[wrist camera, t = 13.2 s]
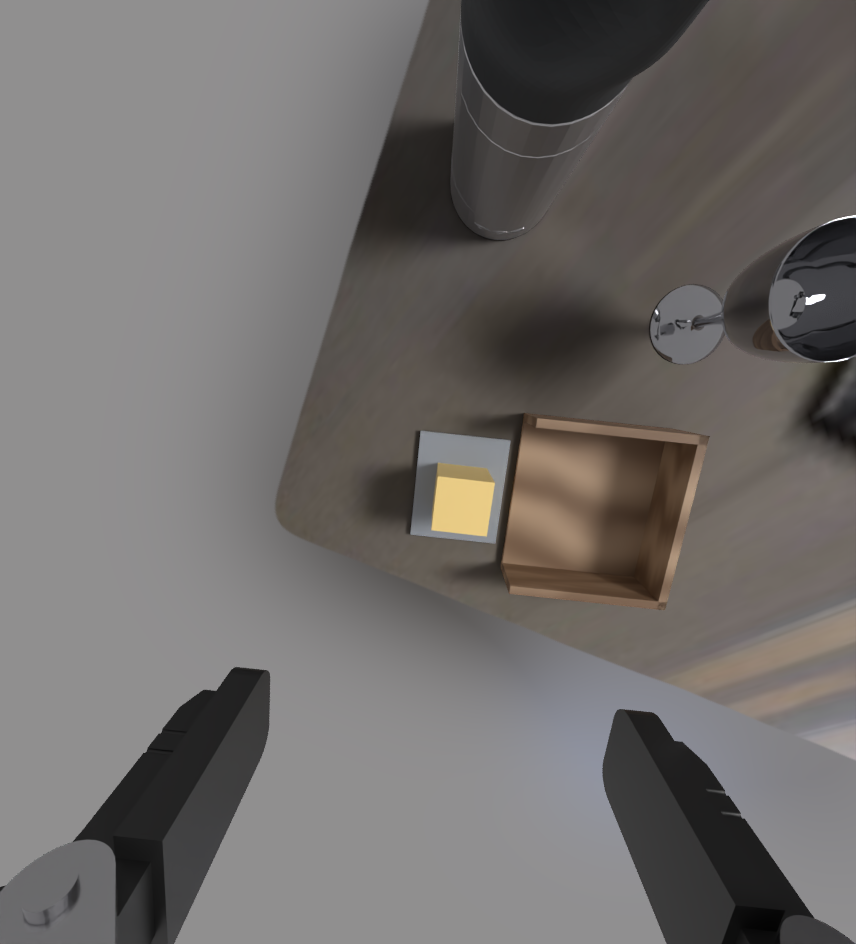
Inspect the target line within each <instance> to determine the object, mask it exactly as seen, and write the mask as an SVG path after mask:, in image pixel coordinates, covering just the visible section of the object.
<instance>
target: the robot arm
mask: <svg viewBox="0 0 856 944" xmlns="http://www.w3.org/2000/svg"><path fill="white" fill-rule="evenodd" d="M708 1H709V0H461V16H460V32H459V49H458V69H457V85H456V101H455V117H454V133H453V149H452V162H451V178H450V187H451V196H452V200H453V204H454V207H455V209H456V211H457V213H458V215H459V217H460V218H461V220H462V221H463V222H464V223H465V225H466V226H467V227H468V228H470V229H471V230H472V231H473V232H475V233H476V234H478V235H480V236H482V237H485V238H489V239H493V240H508V239H512V238H516V237H518V236H520V235H522V234H524V233H527V232H528V231H529V230H530V229H532V228H533V227H534V226H536V225H537V223H538V222H539V221H540V220H541V219H542V217H543V216H544V215H545V213H546V212H547V210H548V209H549V207H550V205H551V204H552V202H553V201H554V199H555V198H556V196H557V195H558V193H559V192H560V190H561V189H562V187H563V186H564V184H565V183H566V181H567V179H568V178H569V176H570V175H571V173H572V172H573V170H574V169H575V167H576V165H577V164H578V162H579V161H580V159H581V158H582V156H583V155H584V153H585V152H586V150H587V148H588V147H589V145H590V144H591V142H592V141H593V139H594V138H595V136H596V134H597V133H598V131H599V130H600V128H601V127H602V125H603V124H604V122H605V121H606V119H607V117H608V116H609V114H610V113H611V111H612V110H613V108H614V106H615V105H616V103H617V101H618V100H619V98H620V97H621V95H622V94H623V92H624V91H625V89H626V87H627V86H628V84H629V83H630V81H631V80H632V78H633V77H634V76H636V75H638V74H639V73H641V72H643V71H644V70H646V69H647V68H649V67H650V66H651V65H653V64H654V63H655V62H656V61H658V60H659V59H660V58H661V57H662V56H663V55H664V54H666V53H667V52H668V51H669V49H670V48H671V47H672V46H673V45H674V44H675V43H676V42H677V41H678V39H679V38H680V37H681V36H682V35H683V33H684V32H685V31H686V30H687V28H688V27H689V26H690V24H691V23H692V22H693V20H694V19H695V18H696V17H697V15H698V14H699V13H700V11H701V10H702V9H703V7H704V6H705V5H706V4H707V2H708ZM269 703H270V673H269V672H268V671H267V670H259V669H249V668H240V667H235V668H233V669H232V670H231V671H230V673H229V674H228V675H227V677H226V678H225V679H224V681H223V682H222V684H221V686H220V687H219V688H218V689H217V691H211V690H203V691H201V692H200V693H199V694H197V695H196V696H194V697H193V698H192V699H191V700H189V701H188V702H186V703H185V704H183V705H182V706H181V707H180V708H179V709H178V710H177V711H176V713H175V714H174V715H173V717H172V718H171V719H170V720H169V722H168V723H167V724H166V725H165V727H164V728H163V730H162V733H161V734H158V735H157V737H156V738H155V739H154V741H153V742H152V743H151V744H150V746H149V747H148V749H147V752H146V753H143V754H142V756H141V757H140V758H139V759H138V761H137V762H136V763H135V765H134V766H133V767H132V768H131V770H130V771H129V772H128V773H127V775H126V776H125V777H124V778H123V780H122V781H121V783H120V784H119V785H118V786H117V787H116V789H115V790H114V791H113V792H112V794H111V795H110V796H109V798H108V799H107V800H106V801H105V803H104V804H103V805H102V806H101V808H100V809H99V810H98V811H97V813H96V814H95V815H94V817H93V818H92V819H91V820H90V822H89V823H88V824H87V825H86V827H85V828H84V829H83V830H82V832H81V833H80V834H79V835H78V836H77V837H76V839H75V840H74V841H73V842H71V843H68V844H65V845H63V846H60V847H58V848H55V849H53V850H52V851H50V852H48V853H46V854H44V855H43V856H41V857H39V858H38V859H36V860H35V861H33V862H32V863H31V864H29V865H28V866H26V867H25V868H24V869H23V870H22V871H21V872H20V873H18V874H17V875H16V876H15V877H14V878H13V879H12V880H11V881H10V882H9V883H8V884H7V885H6V886H2V887H0V944H174V942H175V940H176V938H177V936H178V934H179V932H180V930H181V927H182V925H183V923H184V921H185V919H186V917H187V915H188V913H189V910H190V908H191V906H192V904H193V902H194V899H195V897H196V895H197V893H198V891H199V889H200V887H201V885H202V883H203V880H204V878H205V876H206V874H207V872H208V870H209V867H210V866H211V863H212V861H213V859H214V857H215V855H216V853H217V851H218V848H219V846H220V844H221V842H222V840H223V838H224V835H225V834H226V831H227V829H228V827H229V825H230V823H231V821H232V818H233V817H234V814H235V812H236V810H237V808H238V806H239V804H240V801H241V799H242V797H243V795H244V793H245V791H246V789H247V787H248V784H249V782H250V780H251V778H252V776H253V774H254V771H255V770H256V767H257V765H258V763H259V761H260V758H261V756H262V754H263V751H264V748H265V744H266V740H267V736H268V730H269V705H270V704H269ZM603 781H604V787H605V791H606V795H607V798H608V800H609V803H610V805H611V808H612V810H613V813H614V815H615V817H616V820H617V822H618V825H619V827H620V830H621V832H622V835H623V837H624V840H625V842H626V844H627V847H628V850H629V852H630V854H631V857H632V859H633V862H634V864H635V867H636V869H637V872H638V874H639V877H640V879H641V882H642V884H643V886H644V889H645V891H646V894H647V896H648V899H649V901H650V904H651V906H652V909H653V911H654V914H655V916H656V918H657V921H658V923H659V926H660V928H661V931H662V933H663V936H664V938H665V941H666V943H667V944H855V943H854V942H853V941H852V940H850V939H849V938H848V937H846V936H845V935H844V934H842V933H841V932H839V931H838V930H836V929H834V928H833V927H831V926H829V925H828V924H826V923H824V922H821V921H819V920H817V919H815V918H814V917H813V915H812V914H811V913H810V912H809V910H808V909H807V907H806V906H805V904H804V903H803V902H802V900H801V899H800V898H799V896H798V894H797V893H796V892H795V890H794V889H793V887H792V886H791V884H790V883H789V881H788V880H787V879H786V877H785V876H784V874H783V873H782V872H781V870H780V869H779V867H778V866H777V864H776V863H775V861H774V860H773V859H772V857H771V856H770V855H769V853H768V852H767V850H766V849H765V847H764V846H763V844H762V843H761V842H760V840H759V839H758V837H757V836H756V834H755V833H754V832H753V830H752V829H751V827H750V826H749V824H748V823H747V821H746V820H745V819H742V818H741V815H740V814H741V813H740V811H739V810H738V809H737V807H736V806H735V804H734V803H733V801H732V800H731V798H730V797H729V796H726V794H725V790H724V789H723V787H722V786H721V784H720V783H719V781H718V780H717V778H716V777H715V776H714V774H713V773H712V771H711V770H710V768H709V767H708V766H707V764H705V763H704V762H703V761H702V760H701V759H700V758H699V757H698V756H697V755H696V754H695V753H694V752H693V751H692V750H690V749H689V748H688V747H687V746H686V745H685V744H684V743H683V742H678V741H674V740H673V738H672V737H671V735H670V733H669V732H668V731H667V729H666V727H665V726H664V724H663V723H662V721H661V720H660V718H659V717H658V716H657V715H656V714H654V713H652V712H643V711H633V710H623V709H619V710H617V712H616V713H615V716H614V719H613V724H612V728H611V732H610V736H609V740H608V744H607V748H606V752H605V757H604V761H603Z"/></svg>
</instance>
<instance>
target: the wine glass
mask: <svg viewBox="0 0 856 944" xmlns="http://www.w3.org/2000/svg"><path fill="white" fill-rule="evenodd" d="M724 335H726V337H727V338H728V340H729V341H730V342H731V344H733V345H734V346H735V347H736V348H737V349H739V350H741V351H743V352H744V353H746V354H748V355H751V356H754V357H758V358H761V359H765V360H772V361H779V362H786V363H819V362H834V361H840V360H845V359H849V358H852V357H854V356H856V216H850V217H845V218H841V219H836V220H833V221H830V222H828V223H825V224H823V225H820V226H818V227H815V228H813V229H810V230H808V231H805V232H803V233H801V234H799V235H797V236H794V237H792V238H790V239H788V240H786V241H784V242H782V243H781V244H779V245H777V246H776V247H774V248H773V249H771V250H769V251H768V252H766V253H764V254H763V255H761V256H760V257H759V258H757V259H756V260H755V261H753V262H752V263H751V264H749V265H748V266H747V267H746V268H745V269H744V270H743V271H742V272H741V273H740V274H739V275H738V276H737V277H736V278H735V279H734V281H733V282H732V283H731V285H730V286H729V288H728V290H727V292H726V294H725V296H724V299H722V298H721V297H720V295H719V294H718V293H716V292H715V291H714V290H712V289H711V288H709V287H706V286H703V285H698V284H691V285H685V286H681V287H679V288H677V289H675V290H673V291H671V292H670V293H668V294H667V295H666V296H665V297H664V298H663V299H662V300H661V301H660V303H659V304H658V305H657V307H656V309H655V311H654V313H653V315H652V319H651V323H650V337H651V341H652V344H653V346H654V348H655V350H656V351H657V352H658V353H659V355H661V356H662V357H663V358H664V359H666V360H668V361H669V362H672V363H675V364H691V363H695V362H698V361H700V360H702V359H704V358H706V357H707V356H709V355H710V354H711V353H712V352H714V350H715V349H716V348H717V347H718V346H719V344H720V343H721V341H722V340H723V337H724Z"/></svg>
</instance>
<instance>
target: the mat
mask: <svg viewBox="0 0 856 944" xmlns="http://www.w3.org/2000/svg"><path fill="white" fill-rule="evenodd" d="M510 441H511V440H505V439H496V438H487V437H477V436H468V435H458V434H449V433H439V432H430V431H421V433H420V443H419V453H418V463H417V473H416V483H415V493H414V503H413V513H412V523H411V533H410V535H419V536H429V537H438V538H448V539H457V540H466V541H476V542H485V543H495V542H496V535H497V529H498V522H499V515H500V508H501V502H502V495H503V488H504V482H505V475H506V468H507V461H508V455H509V448H510ZM438 463H445V464H454V465H462V466H471V467H480V468H487V469H488V471H489V473H490V475H491V477H492V478H493V480H494V482H495V486H494V493H493V499H492V506H491V512H490V519H489V525H488V532H487V537H486V536H477V535H468V534H459V533H451V532H442V531H433V530H431V525H432V507H433V499H434V490H435V482H436V474H437V465H438Z"/></svg>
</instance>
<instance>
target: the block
mask: <svg viewBox="0 0 856 944" xmlns="http://www.w3.org/2000/svg"><path fill="white" fill-rule="evenodd" d="M494 486H495V482H494V480H493V478H492V477H491V475H490V473H489V471H488V469H487V468H480V467H471V466H462V465H454V464H445V463H438V465H437V474H436V482H435V490H434V499H433V507H432V525H431V530H433V531H442V532H451V533H459V534H468V535H477V536H486V537H487V532H488V525H489V519H490V512H491V506H492V499H493V493H494Z"/></svg>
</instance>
